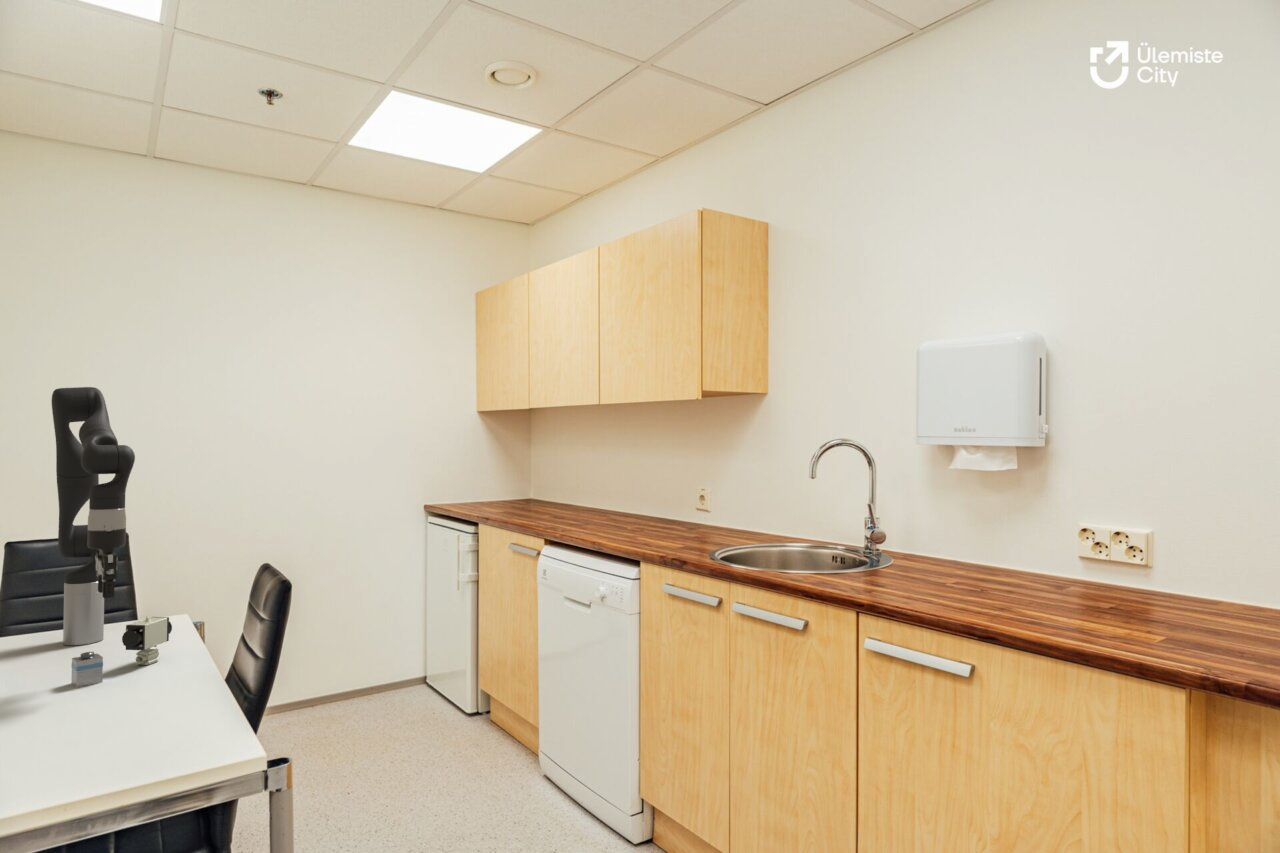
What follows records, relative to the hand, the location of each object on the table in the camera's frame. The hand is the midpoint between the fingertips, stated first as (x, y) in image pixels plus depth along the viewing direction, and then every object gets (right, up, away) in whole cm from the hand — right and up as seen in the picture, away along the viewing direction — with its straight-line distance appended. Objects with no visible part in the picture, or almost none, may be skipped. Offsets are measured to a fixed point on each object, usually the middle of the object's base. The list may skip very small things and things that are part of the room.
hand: (105, 594), depth 177 cm
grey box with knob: (-3, -20, -3) cm, 21 cm away
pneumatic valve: (+1, -21, +13) cm, 24 cm away
